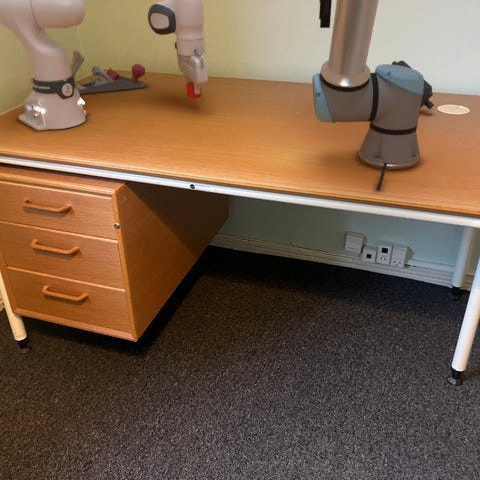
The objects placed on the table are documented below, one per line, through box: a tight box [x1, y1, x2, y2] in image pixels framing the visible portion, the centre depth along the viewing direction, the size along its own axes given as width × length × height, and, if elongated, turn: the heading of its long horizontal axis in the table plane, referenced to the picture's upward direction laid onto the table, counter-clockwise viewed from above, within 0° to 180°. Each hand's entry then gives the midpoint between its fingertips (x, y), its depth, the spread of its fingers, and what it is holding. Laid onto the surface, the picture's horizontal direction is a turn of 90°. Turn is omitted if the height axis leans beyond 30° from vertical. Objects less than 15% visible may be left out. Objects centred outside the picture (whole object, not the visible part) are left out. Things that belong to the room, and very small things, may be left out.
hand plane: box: [70, 48, 146, 95], centre depth 194 cm, size 7×31×15 cm, turn 107°
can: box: [186, 82, 202, 99], centre depth 175 cm, size 5×5×4 cm
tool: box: [390, 60, 435, 111], centre depth 170 cm, size 6×19×15 cm, turn 51°
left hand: (193, 91), depth 175 cm, fingers closed on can, 4 cm apart
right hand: (324, 23), depth 154 cm, fingers open, 13 cm apart
